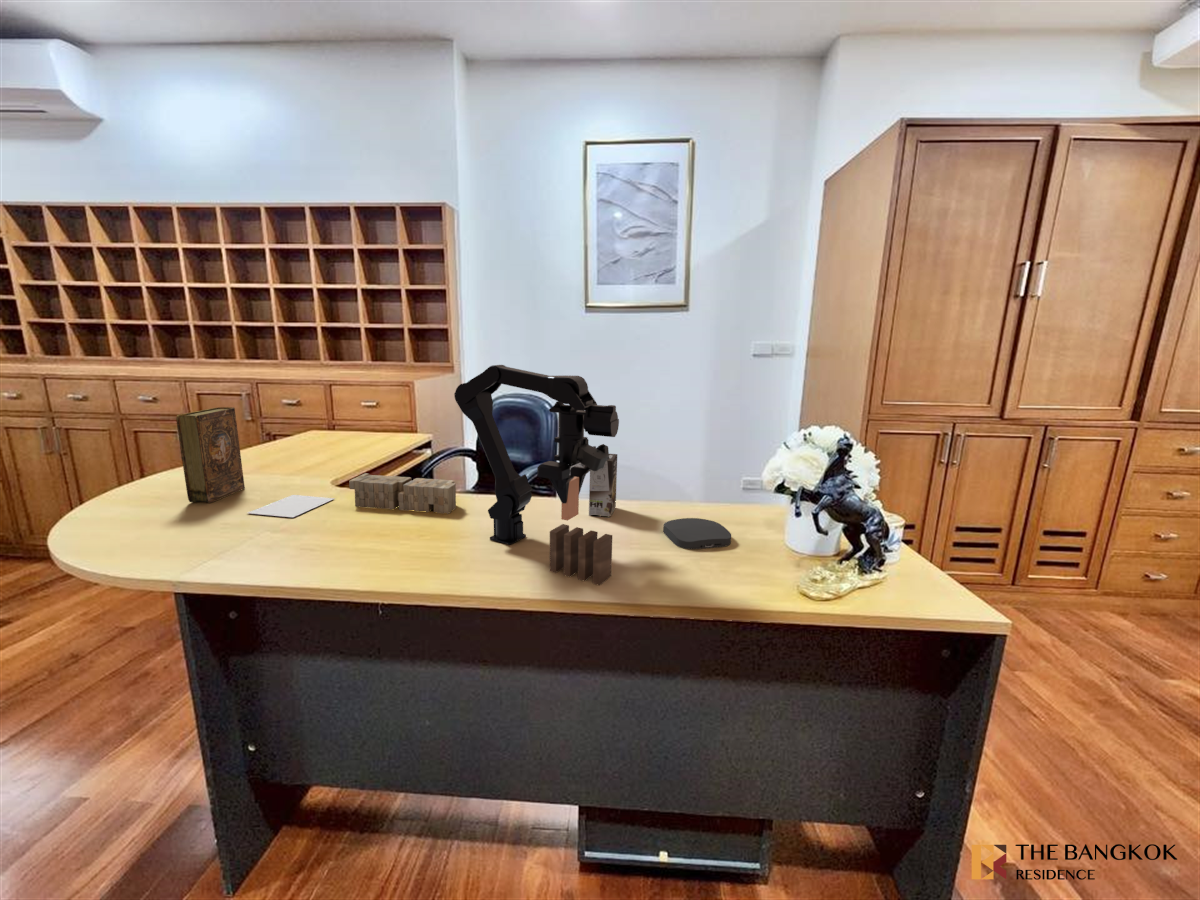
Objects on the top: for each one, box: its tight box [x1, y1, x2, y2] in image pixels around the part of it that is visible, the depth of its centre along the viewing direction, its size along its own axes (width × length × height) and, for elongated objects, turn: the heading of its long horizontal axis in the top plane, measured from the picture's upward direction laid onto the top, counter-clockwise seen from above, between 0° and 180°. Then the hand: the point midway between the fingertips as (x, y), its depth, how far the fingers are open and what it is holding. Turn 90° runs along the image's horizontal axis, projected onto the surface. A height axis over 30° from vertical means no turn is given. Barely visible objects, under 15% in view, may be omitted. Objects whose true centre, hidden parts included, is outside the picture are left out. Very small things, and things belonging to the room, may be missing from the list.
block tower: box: [348, 472, 457, 515], centre depth 148 cm, size 8×8×29 cm
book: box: [175, 406, 246, 504], centre depth 151 cm, size 16×6×25 cm, turn 179°
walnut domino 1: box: [549, 523, 570, 574], centre depth 111 cm, size 2×5×9 cm, turn 151°
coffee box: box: [588, 453, 618, 517], centre depth 147 cm, size 9×6×16 cm
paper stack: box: [247, 494, 336, 518], centre depth 141 cm, size 23×25×1 cm
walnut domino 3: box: [577, 530, 599, 582], centre depth 108 cm, size 2×5×9 cm, turn 151°
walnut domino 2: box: [563, 526, 584, 578], centre depth 110 cm, size 2×5×9 cm, turn 151°
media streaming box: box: [662, 517, 732, 550], centre depth 131 cm, size 15×15×3 cm
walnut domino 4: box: [592, 533, 613, 586], centre depth 106 cm, size 2×5×9 cm, turn 151°
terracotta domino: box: [560, 477, 580, 521], centre depth 120 cm, size 2×5×9 cm, turn 152°
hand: (570, 500), depth 120 cm, fingers closed on terracotta domino, 5 cm apart
